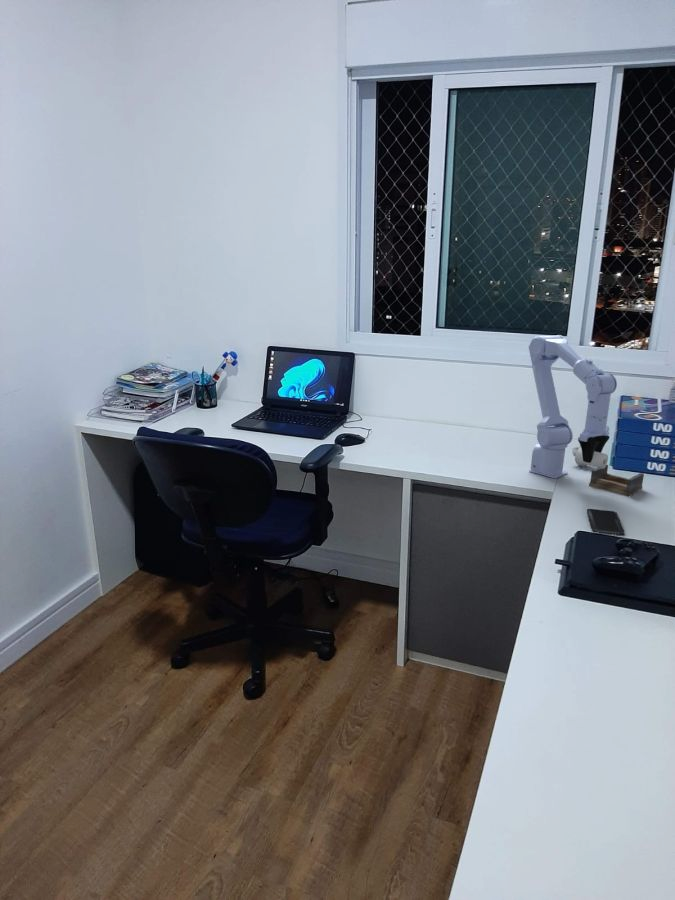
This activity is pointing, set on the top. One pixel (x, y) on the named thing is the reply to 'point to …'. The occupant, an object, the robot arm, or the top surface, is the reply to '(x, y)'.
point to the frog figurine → (575, 454)
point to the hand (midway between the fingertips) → (590, 460)
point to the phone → (605, 521)
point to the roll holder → (616, 482)
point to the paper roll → (593, 459)
